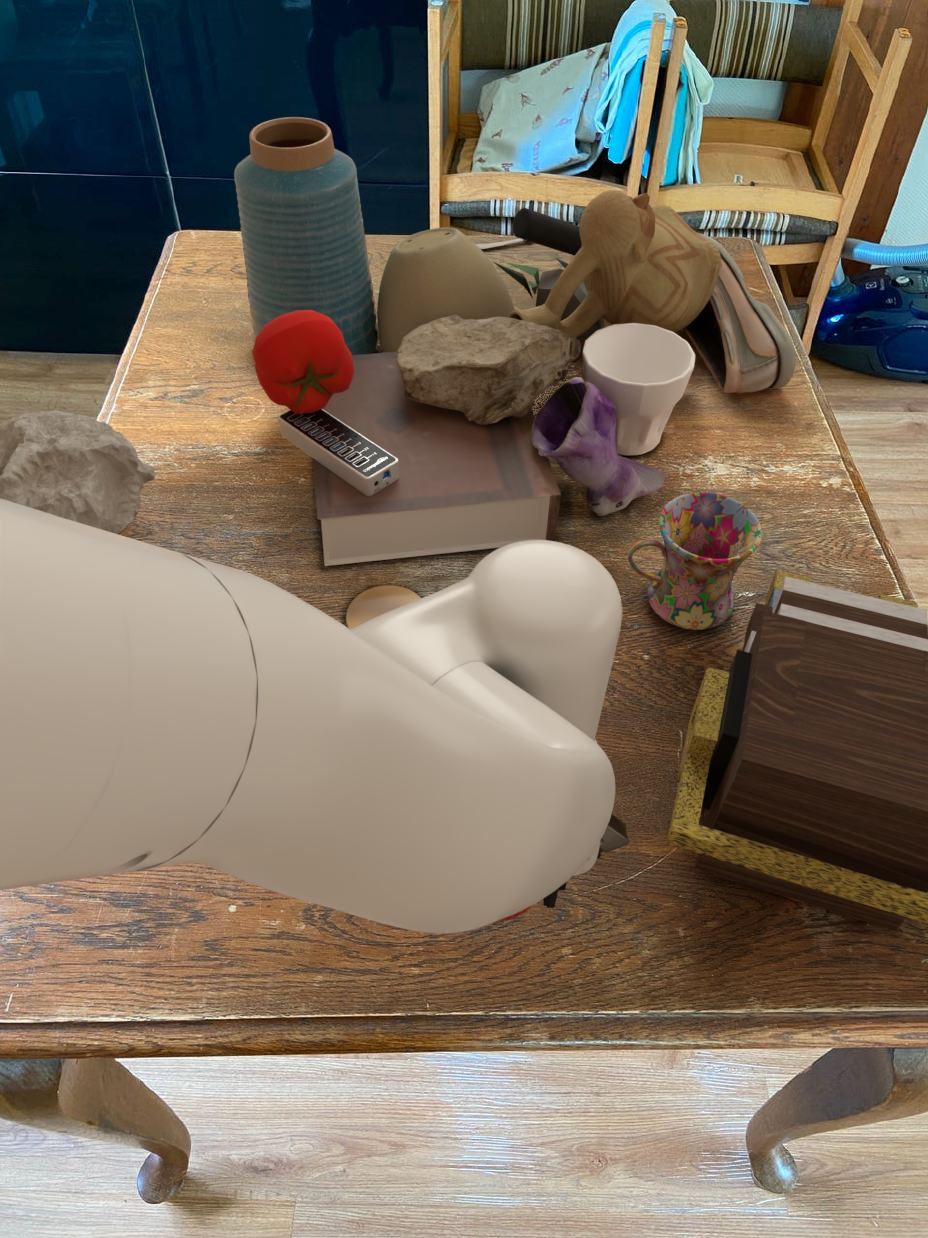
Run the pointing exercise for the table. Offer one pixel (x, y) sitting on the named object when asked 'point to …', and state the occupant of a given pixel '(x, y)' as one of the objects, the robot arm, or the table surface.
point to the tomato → (302, 360)
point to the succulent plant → (545, 288)
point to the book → (432, 477)
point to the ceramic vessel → (632, 269)
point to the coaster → (377, 603)
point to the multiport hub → (340, 450)
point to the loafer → (741, 336)
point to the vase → (304, 230)
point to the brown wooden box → (816, 755)
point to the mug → (699, 558)
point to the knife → (497, 243)
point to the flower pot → (436, 284)
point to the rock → (483, 365)
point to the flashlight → (547, 231)
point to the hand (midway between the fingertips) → (505, 887)
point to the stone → (71, 469)
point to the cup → (638, 379)
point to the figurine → (591, 447)
